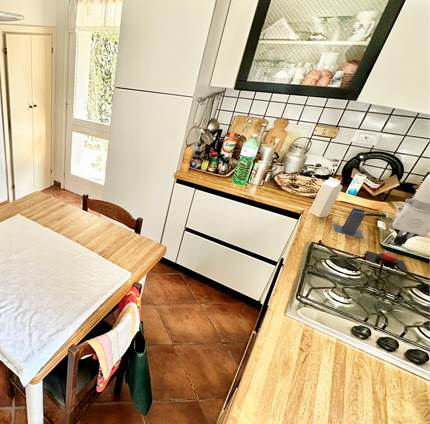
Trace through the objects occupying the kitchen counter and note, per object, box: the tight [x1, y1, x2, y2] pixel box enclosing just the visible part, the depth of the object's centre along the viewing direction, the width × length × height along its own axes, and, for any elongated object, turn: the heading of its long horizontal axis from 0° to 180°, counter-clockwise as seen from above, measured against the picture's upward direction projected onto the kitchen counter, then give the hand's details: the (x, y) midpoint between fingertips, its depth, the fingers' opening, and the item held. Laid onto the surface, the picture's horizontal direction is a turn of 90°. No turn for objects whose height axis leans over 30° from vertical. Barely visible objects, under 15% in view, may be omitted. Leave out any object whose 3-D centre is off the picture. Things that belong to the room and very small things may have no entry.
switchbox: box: [363, 250, 409, 273], centre depth 130 cm, size 12×10×4 cm
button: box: [383, 252, 397, 261], centre depth 129 cm, size 4×4×2 cm
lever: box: [358, 211, 391, 220], centre depth 145 cm, size 12×5×2 cm, turn 52°
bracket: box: [333, 207, 367, 240], centre depth 151 cm, size 11×9×13 cm
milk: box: [308, 176, 343, 218], centre depth 164 cm, size 6×6×22 cm
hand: (397, 244), depth 126 cm, fingers closed
